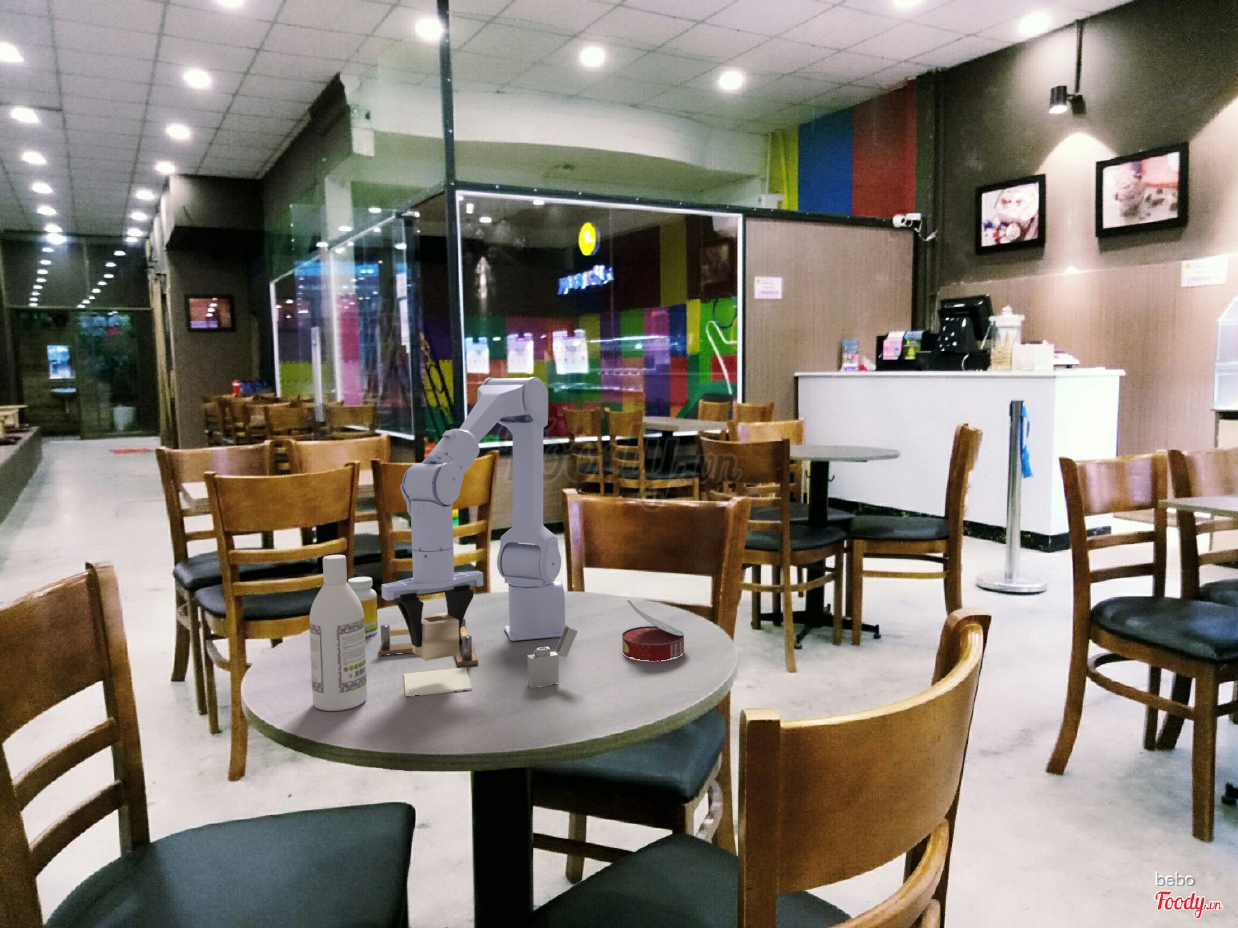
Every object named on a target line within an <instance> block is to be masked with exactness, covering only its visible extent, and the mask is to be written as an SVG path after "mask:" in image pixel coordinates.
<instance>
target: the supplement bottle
mask: <svg viewBox="0 0 1238 928" xmlns="http://www.w3.org/2000/svg"><path fill="white" fill-rule="evenodd" d="M347 583H348V584H349V586H350V587H351V588H352V590H353V591H354V592H355V594H356V595H357V597H358V598H359V600H360V602H361V605H362V608H363V613H364V627H365V636H367V637H370V636H369V635H371V636H373V635H372V634H374V635H375V634H376V633H377V632H378V630H379V629H378V628H379V626H378V602H377V601H378V597H377V592H376V590H374V589H373V588H372V587H373V578H372V577H370V576H357V577H352V578H348V580H347Z"/></svg>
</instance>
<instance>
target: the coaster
mask: <svg viewBox="0 0 1238 928" xmlns="http://www.w3.org/2000/svg"><path fill="white" fill-rule="evenodd" d="M403 680H404V681H403V682H404V696H405V698H407V697H406V696H410V697H416V696H415V695H420V696H426V695H438V694H446V693H455V692H454V691H457V692H464V691H463V690H467V691H472V690H473V689H472V685H471V684H472V683H471V680H470V678H469V675H468V669H467V667H457V668H449V669H437V670H426V671H417V672H408V673H403Z"/></svg>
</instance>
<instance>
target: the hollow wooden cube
mask: <svg viewBox="0 0 1238 928" xmlns="http://www.w3.org/2000/svg"><path fill="white" fill-rule="evenodd" d="M421 628H422V647H415V646H414V645H412V652H413V653H412V654H415V655H417V656H418V657H419V658H421V659H423V660H424V661H426V662H427V661H432V660H437V659H444V658H448V657H455V655H459V620H458V619H456V618H454V617H452V616H450V615H448V613H445V612H440V613H435V614H434V613H432V614H428V615H422V622H421Z"/></svg>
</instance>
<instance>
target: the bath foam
mask: <svg viewBox="0 0 1238 928" xmlns="http://www.w3.org/2000/svg"><path fill="white" fill-rule="evenodd" d="M322 569H323V571H322V572H323V573H322V574H323V575H322V576H323V585H322V587H321V588H320V590H319V592H318V593H317V595H316V597H315V598H314V600H313V602H312V604H311V608H310V612H309V620H308V623H309V625H308V627H309V645H310V647H309V648H310V668H311V669H310V670H311V688H312V704H313V706H314V707H315V708H316V709H318V710H321V711H325V712H326V711H327V712H340V711H346V710H350V709H353V708H356V707H358V706H360V705H362V704H363V703H365V701H366V700H367V697H368V689H367V687H368V685H367V684H368V683H367V657H366V653H367V652H366V637H365V627H364V613H363V608H362V605H361V602H360V600H359V598H358V597H357V595H356V594H355V592H354V591H353V590H352V588H351V587H350V586H349V584H348V580H347V579H348V578H347V577H348V574H347V557H346V555H343V554H331V555H325V556H323V558H322Z"/></svg>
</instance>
